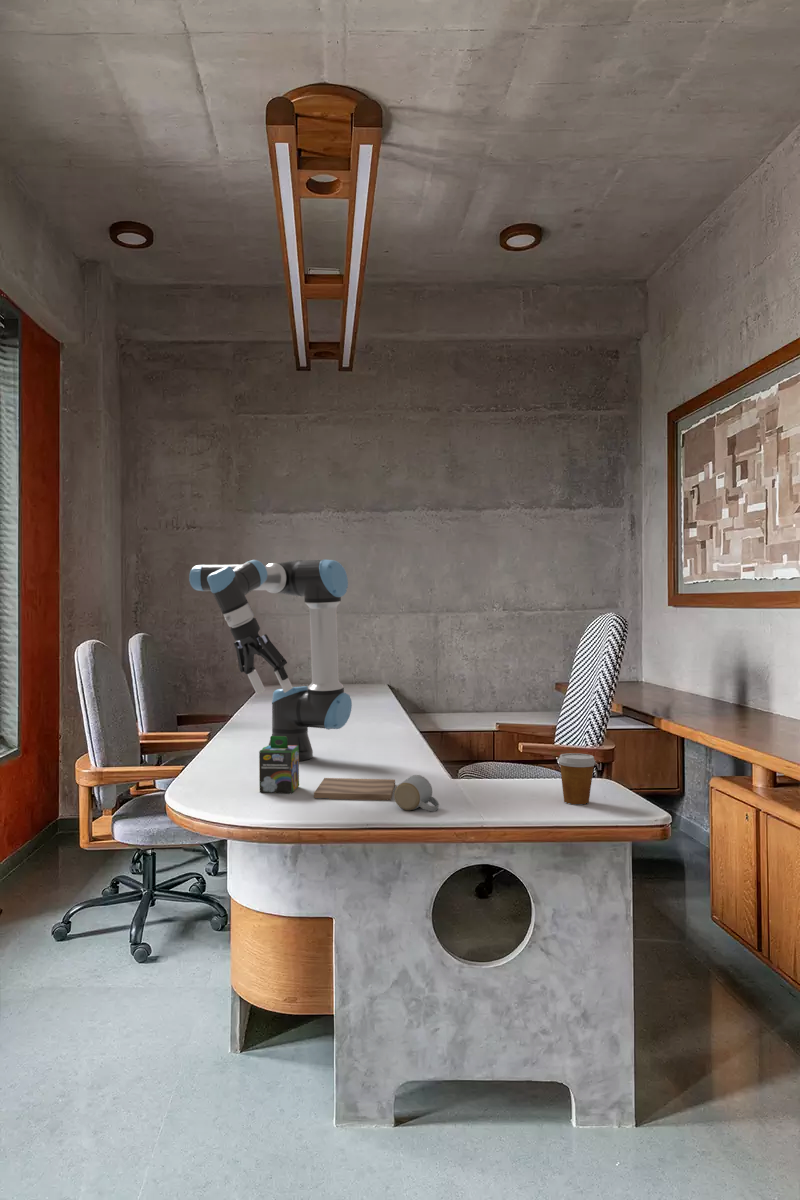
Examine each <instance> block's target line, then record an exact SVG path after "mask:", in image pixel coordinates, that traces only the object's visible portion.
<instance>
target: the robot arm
mask: <svg viewBox="0 0 800 1200" xmlns="http://www.w3.org/2000/svg"><path fill="white" fill-rule="evenodd" d="M188 578H189V584H190V587H191V588H192V589H193V590H195V591H200V592H211V593H212V595H213V597H214V599H215V602H216V603H217V605H218V607H219V609H220V611H221V614H222V616H223V617H224V621H226V623H227V626H228V627H230V630H229V631H230V632H231V635H232V637H233V639H234V640H235V641H234V642H233V646H234V648H235V651H236V656H237V661H238V668H239V671H240V673H245V675H247V677H248V680H249V681H250V684H251V685H252V687H253V689H254V691H255V693H256V695H257V696H259V695H261V694H262V693H263V692H265V691H266V688H265V686H264V684H263V682H262V679H261V677H260V675H259V673H258V671H257V669H256V667H255V666H254V665H255V655H257V656H260V657H261V658H262V659H264V660H265V661H266V662H267V663H268V664H269V665H270V666H271V667H272V668H273V672H274V674H275V676H276V678H277V680H278V681H277V682H278V683H279V685H280V687H281V688H278V689H275V690H274V691H273V693H272V701H271V705H272V706H271V707H272V710H271V711H272V713H271V714H272V715H271V725H272V726H271V736H286V737H287V740H288V745H298V746H299V762H300V761H307V760H310V759H313V758H314V750H313V748H312V744H311V740H310V738H309V734H308V732H309V731H308V729H309V728H314V729H326V730H340V729H342V728H343V727H344V726H345V725H346V724H347V723H348V721H349V719H350V717H351V716H350V715H351V712H352V709H353V704H352V698H351V696H350V694H348V693H346V692H345V691H344V690H345V689H344V688H345V687H344V685H343V683H342V682H340V677H339V676H340V675H339V673H340V671H339V646H338V644H339V643H338V641H339V640H338V617H337V615H338V614H337V613H338V611H337V607H338V606H339V605H340V603H341V602H342V597H344V596H345V595H346V593H347V592H348V590H347V589H348V588H349V586H348V585H349V582H348V581H349V580H348V574H347V571H346V569H345V567H344V566H343V565H342V564H341V562H339V561H337V560H334V559H326V558H324V559H306V560H305V559H300V560H299V559H298V560H297V559H296V560H289V561H282V562H271V563H268V564H266V565H265V564H263V562H262V561H260V560H258V559H252V560H251V559H250V560H249V561H245V563H241V564H240V563H239V564H238V563H235V564H234V563H233V564H232V563H231V564H227V563H226V564H206V563H205V564H204V563H203V564H197V565H194V566H193V567H192V568H191V569H190V571H189V577H188ZM253 591H266V592H267V593H270V594H281V595H288V596H295V597H304V599H303V600H304V604H305V605H306V606H307V607H308V608H309V632H310V633H309V634H310V661H311V665H310V666H311V682H310V684H309V685H308V686H306V685H305V686H304V685H303V686H293V684H292V682H291V681H290V679H289V676H288V673H287V671H286V669H285V665H287V664H288V661H287V660H286V659H285V657H284V656H283V655H282V654H281V652H280V651H279V650H278V648H277V647H276V646H275V645H274V644H273V643H272V642H271V640H270V637H269V636H268V635H267V633H264V634H263V635H261V636H260V634H259V631H260V630H261V627H260V624H259V622H258V621H257V618H256V617H254V616H255V613H254V612H253V609H252V608H251V606H250V604H249V601H248V599H247V596H246V595H248V594H249V593H251V592H253ZM275 743H276V744H278V745H281V744H283V741H282V740H276V741H275ZM268 745H271V743H270V741H269V743H268Z"/></svg>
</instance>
